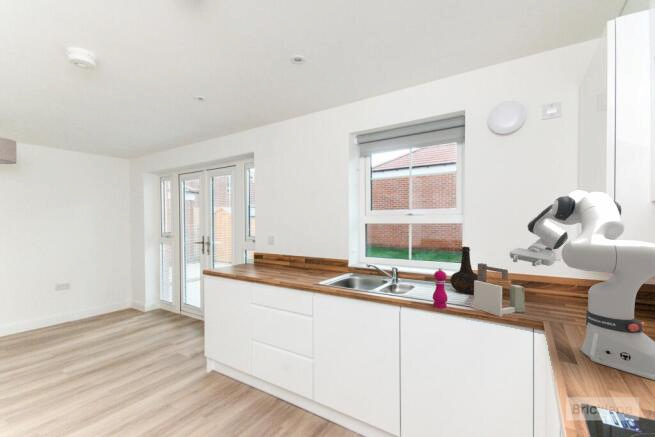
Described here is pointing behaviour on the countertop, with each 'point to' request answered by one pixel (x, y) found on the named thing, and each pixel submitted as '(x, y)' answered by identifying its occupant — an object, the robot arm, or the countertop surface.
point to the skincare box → (517, 298)
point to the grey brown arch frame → (483, 270)
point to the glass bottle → (464, 274)
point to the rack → (489, 299)
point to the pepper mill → (440, 289)
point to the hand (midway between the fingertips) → (523, 262)
